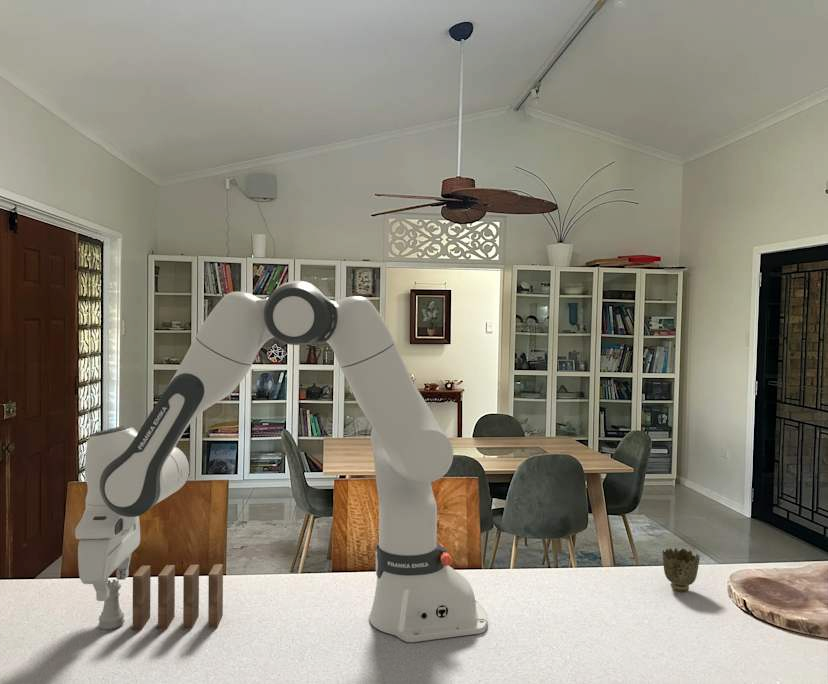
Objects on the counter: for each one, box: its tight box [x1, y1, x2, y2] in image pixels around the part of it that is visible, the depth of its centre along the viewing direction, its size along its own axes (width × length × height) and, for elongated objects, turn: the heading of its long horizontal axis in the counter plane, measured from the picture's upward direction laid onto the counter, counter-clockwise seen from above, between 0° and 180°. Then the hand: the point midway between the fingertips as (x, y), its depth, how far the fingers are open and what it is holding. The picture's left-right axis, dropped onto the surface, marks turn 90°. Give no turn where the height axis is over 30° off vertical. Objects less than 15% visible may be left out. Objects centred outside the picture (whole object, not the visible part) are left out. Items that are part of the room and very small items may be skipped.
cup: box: [661, 547, 701, 593], centre depth 139 cm, size 8×7×8 cm
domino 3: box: [182, 564, 200, 630], centre depth 121 cm, size 2×5×10 cm, turn 5°
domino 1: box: [132, 565, 152, 631], centre depth 120 cm, size 2×5×10 cm, turn 5°
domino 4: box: [207, 563, 224, 629], centre depth 121 cm, size 2×5×10 cm, turn 5°
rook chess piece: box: [97, 579, 125, 631], centre depth 119 cm, size 4×4×8 cm
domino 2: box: [157, 564, 176, 631], centre depth 120 cm, size 2×5×10 cm, turn 5°
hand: (113, 588), depth 119 cm, fingers open, 8 cm apart
